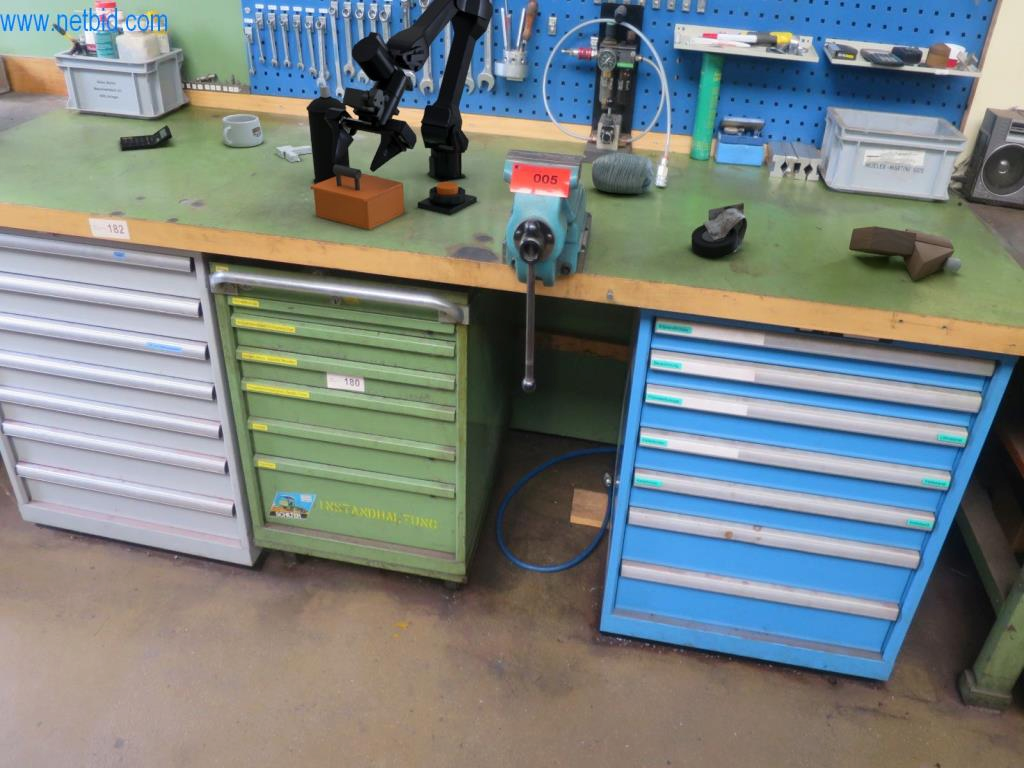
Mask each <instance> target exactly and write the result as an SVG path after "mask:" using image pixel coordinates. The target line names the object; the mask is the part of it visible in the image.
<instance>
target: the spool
mask: <svg viewBox="0 0 1024 768" xmlns="http://www.w3.org/2000/svg"><path fill="white" fill-rule="evenodd" d="M591 180H592V183H593V186H594V187H595V188H596V189H597V190H599V191H601V192H606V193H613V194H624V195H625V194H626V195H627V194H629V195H635V194H636V195H640V194H645V193H647V192H649V190H651V188H652V186H653V185H654V184H653V183H654V180H655V166H654V163H653V161H652V160H651V159H650V158H648V157H646V156H643V155H638V154H633V153H626V152H609V153H605V154H603V155H600V156H598V157H597V158H596V159H595V160H594V161H593V163H592V166H591Z"/></svg>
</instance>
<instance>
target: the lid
mask: <svg viewBox="0 0 1024 768" xmlns="http://www.w3.org/2000/svg"><path fill="white" fill-rule="evenodd" d="M333 172H334V174H336V177H333V178H330V179H328V180H325V181H322V182H320V183H317V184H315V183H314V184H312V185H310V186H309V189H310V190H313V191H314V190H317V191H321V192H325V193H329V194H333V195H337V196H341V197H345V198H350V199H354V200H358V201H362V202H366V201H368V200H371V199H373V198H375V197H378V196H380V195H382V194H385V193H387V192H389V191H392V190H394V189H396V188H399V187H401V186H403V187H404V182H402V181H397V180H392V179H389V178H385V177H379V176H375V175H371V174H366V173H362V170H361V169H359V168H354V167H351V166H350V167H346V166H341V165H337V164H336V165H334V167H333Z"/></svg>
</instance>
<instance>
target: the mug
mask: <svg viewBox="0 0 1024 768" xmlns="http://www.w3.org/2000/svg"><path fill="white" fill-rule="evenodd" d="M221 125H222V127H221V129H222V141H223V144H225V145H226V146H229V147H232V148H248V147H255V146H259V145H261V144H262V143H263V142H264V134H263V130H262V127H261V122H260V118H259V116H257V115H254V114H250V113H249V114H248V113H240V114H239V113H238V114H230V115H226V116H224V117H222V118H221Z"/></svg>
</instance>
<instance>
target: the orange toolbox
mask: <svg viewBox="0 0 1024 768" xmlns="http://www.w3.org/2000/svg"><path fill="white" fill-rule="evenodd" d="M404 195H405V193H404V185H403V186H401V187H399V188H396V189H394V190H392V191H389V192H387V193H385V194H382V195H380V196H378V197H375V198H373V199H371V200H368V201H366V202H362V201H358V200H354V199H350V198H345V197H341V196H337V195H333V194H329V193H325V192H321V191H317V190H313V198H314V207H315V208H314V209H315V216H316V217H318V218H321V219H327V220H329V221H334V222H338V223H341V224H345V225H348V226H353V227H356V228H361V229H364V230H368V231H371V230H372V229H374V228H376V227H377V226H380V225H382V224H384V223H386V222H389V221H390V220H393V219H395V218H396V217H399V216H401V215H403V214H405V197H404Z"/></svg>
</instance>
